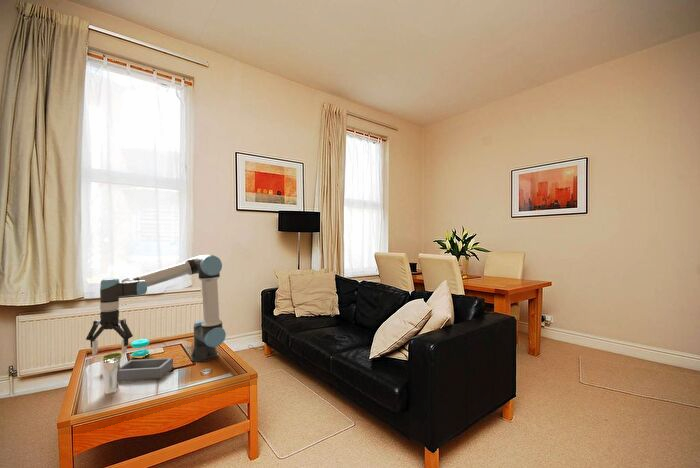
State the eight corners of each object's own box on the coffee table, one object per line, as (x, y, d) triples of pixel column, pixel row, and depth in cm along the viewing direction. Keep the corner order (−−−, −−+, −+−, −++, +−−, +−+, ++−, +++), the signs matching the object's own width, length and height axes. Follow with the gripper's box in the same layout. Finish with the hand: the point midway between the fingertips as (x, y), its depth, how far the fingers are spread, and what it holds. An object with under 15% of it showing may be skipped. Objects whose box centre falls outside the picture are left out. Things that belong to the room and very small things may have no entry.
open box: (173, 368, 190) (172, 357, 190) (160, 379, 175) (160, 368, 175) (130, 370, 188) (130, 360, 188) (113, 382, 173) (113, 370, 173)
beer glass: (108, 388, 166) (108, 358, 166) (123, 387, 166) (122, 357, 166) (99, 395, 159) (98, 363, 159) (114, 394, 159) (114, 363, 160)
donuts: (135, 344, 204) (128, 341, 210) (135, 360, 204) (128, 357, 209) (152, 340, 212) (145, 337, 218) (152, 355, 212) (145, 352, 218)
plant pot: (126, 368, 191) (126, 353, 191) (109, 375, 182) (109, 359, 182) (114, 366, 194) (114, 352, 194) (98, 373, 185) (97, 357, 185)
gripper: (140, 307, 168) (140, 349, 168) (88, 309, 166) (87, 351, 165) (132, 310, 161) (132, 354, 160) (77, 312, 158) (76, 357, 158)
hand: (109, 353), depth 163 cm, fingers open, 13 cm apart
